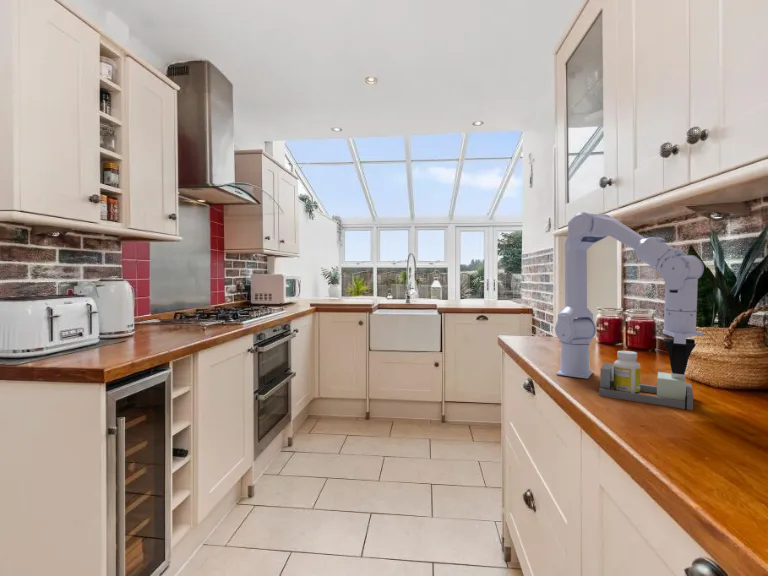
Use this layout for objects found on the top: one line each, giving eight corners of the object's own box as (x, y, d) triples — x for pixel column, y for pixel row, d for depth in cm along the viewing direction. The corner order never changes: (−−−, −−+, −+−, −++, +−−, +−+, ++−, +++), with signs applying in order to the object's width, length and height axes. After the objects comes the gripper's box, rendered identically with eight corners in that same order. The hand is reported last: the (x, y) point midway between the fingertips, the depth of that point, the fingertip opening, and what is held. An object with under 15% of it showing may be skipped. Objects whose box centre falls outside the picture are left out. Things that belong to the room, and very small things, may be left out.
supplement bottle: (632, 391, 100) (634, 350, 99) (644, 397, 94) (645, 354, 94) (609, 390, 100) (610, 349, 100) (619, 396, 95) (620, 354, 95)
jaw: (657, 393, 97) (658, 352, 96) (684, 397, 94) (685, 355, 94) (656, 400, 91) (658, 357, 91) (684, 405, 88) (686, 360, 88)
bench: (605, 385, 105) (605, 361, 104) (690, 397, 95) (691, 371, 95) (598, 395, 96) (599, 369, 95) (692, 410, 86) (693, 381, 86)
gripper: (705, 314, 83) (703, 382, 83) (701, 309, 95) (699, 368, 95) (662, 312, 87) (660, 376, 87) (663, 307, 99) (662, 364, 99)
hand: (678, 372), depth 92 cm, fingers closed on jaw, 2 cm apart
